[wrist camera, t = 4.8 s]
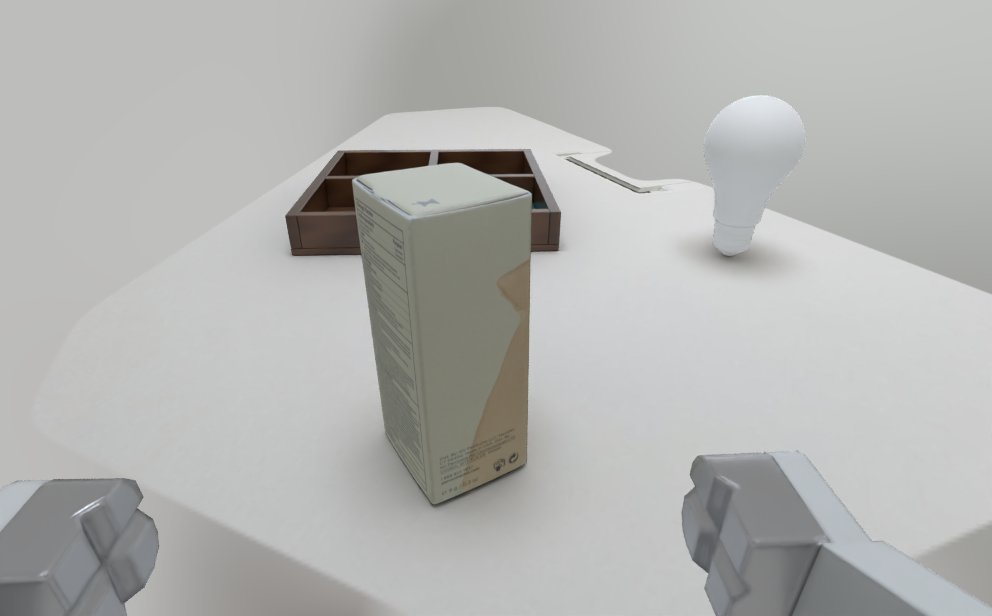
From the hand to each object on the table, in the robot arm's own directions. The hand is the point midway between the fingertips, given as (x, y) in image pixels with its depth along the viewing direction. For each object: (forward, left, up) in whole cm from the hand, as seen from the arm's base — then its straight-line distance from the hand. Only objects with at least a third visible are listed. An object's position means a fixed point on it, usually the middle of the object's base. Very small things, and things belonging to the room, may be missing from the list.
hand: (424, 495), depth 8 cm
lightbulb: (+20, +30, -10) cm, 38 cm away
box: (0, +12, -10) cm, 15 cm away
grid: (-2, +42, -10) cm, 43 cm away
